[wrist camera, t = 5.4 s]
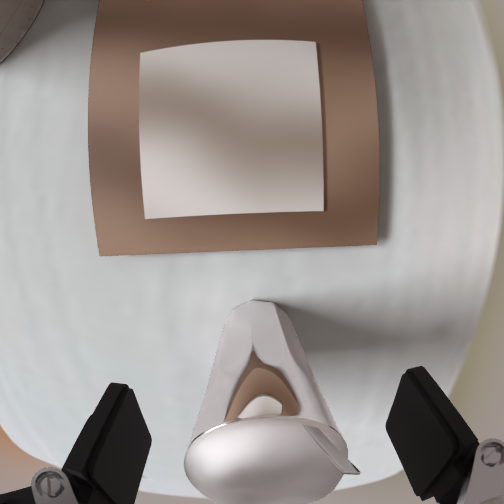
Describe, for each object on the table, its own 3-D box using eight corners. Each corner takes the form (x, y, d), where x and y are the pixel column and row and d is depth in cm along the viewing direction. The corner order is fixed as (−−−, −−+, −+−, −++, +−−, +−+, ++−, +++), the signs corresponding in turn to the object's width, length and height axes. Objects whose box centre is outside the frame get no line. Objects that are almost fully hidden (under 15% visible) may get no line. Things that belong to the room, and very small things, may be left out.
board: (128, -70, 7) (120, -82, 6) (328, -82, 7) (333, -95, 6) (110, 248, 13) (97, 258, 11) (366, 237, 13) (379, 246, 11)
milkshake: (328, 293, 14) (426, 471, 4) (276, 374, 15) (300, 547, 5) (242, 255, 13) (234, 456, 3) (197, 345, 14) (158, 529, 5)
